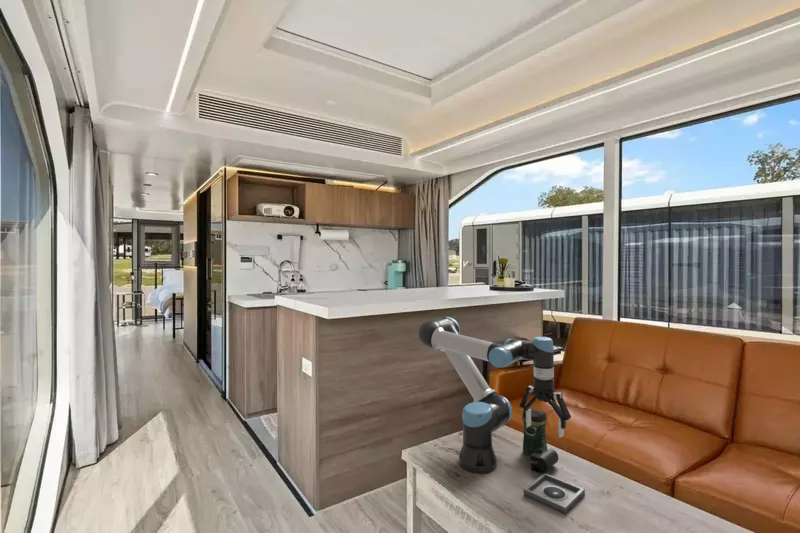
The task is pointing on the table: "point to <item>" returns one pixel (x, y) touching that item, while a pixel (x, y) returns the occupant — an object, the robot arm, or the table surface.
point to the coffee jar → (535, 432)
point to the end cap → (543, 460)
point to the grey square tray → (554, 493)
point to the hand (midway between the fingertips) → (544, 430)
